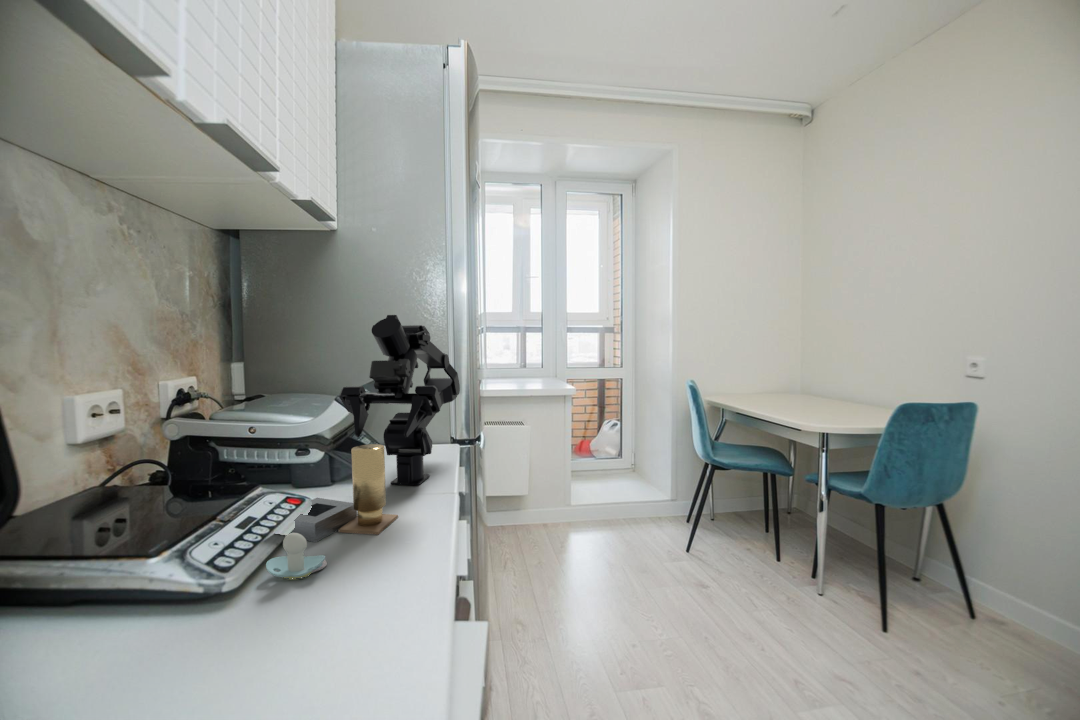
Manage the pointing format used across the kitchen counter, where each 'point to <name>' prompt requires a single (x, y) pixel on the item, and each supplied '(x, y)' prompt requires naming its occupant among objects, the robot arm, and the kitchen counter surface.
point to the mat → (376, 529)
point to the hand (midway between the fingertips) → (381, 435)
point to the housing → (324, 518)
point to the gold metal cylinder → (369, 483)
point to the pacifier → (295, 559)
